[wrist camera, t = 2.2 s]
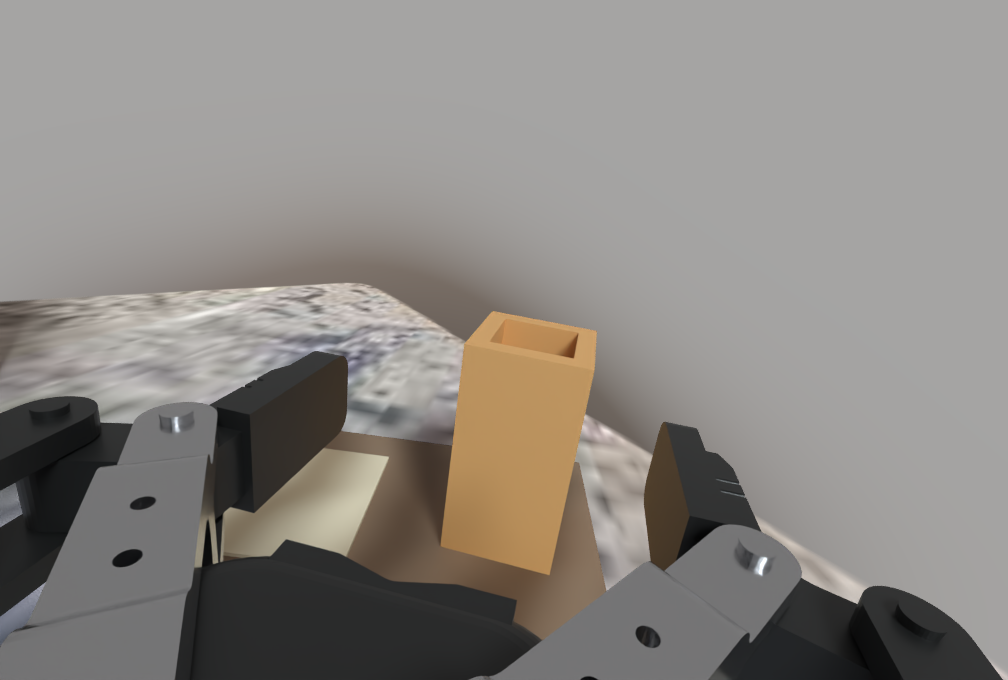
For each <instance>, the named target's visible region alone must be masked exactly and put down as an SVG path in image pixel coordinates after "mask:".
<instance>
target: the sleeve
mask: <svg viewBox="0 0 1008 680" xmlns="http://www.w3.org/2000/svg"><path fill="white" fill-rule="evenodd" d="M596 335H597V331H594V330H589V329H584V328H578V327H573V326H568V325H562V324H557V323H552V322H547V321H542V320H536V319H531V318H526V317H521V316H516V315H511V314H505V313H499V312H495V311H492V312H491V313H490V315H489V316H488V317H487V318H486V319H485V320H484V322H483V323H482V324H481V325H480V326H479V328H478V329H477V330H476V331H475V332H474V333H473V335H472V336H471V337H470V338H469V339H468V340H467V342H466V343H465V344H464V352H463V360H462V369H461V377H460V385H459V394H458V402H457V411H456V419H455V427H454V436H453V444H452V452H451V461H450V469H449V478H448V486H447V494H446V503H445V511H444V519H443V528H442V536H441V545H440V546H441V547H444V548H448V549H452V550H456V551H459V552H463V553H467V554H471V555H475V556H478V557H482V558H486V559H490V560H494V561H497V562H501V563H505V564H509V565H513V566H516V567H520V568H524V569H528V570H531V571H535V572H539V573H543V574H547V575H550V570H551V566H552V561H553V557H554V552H555V548H556V543H557V539H558V534H559V529H560V525H561V520H562V516H563V511H564V507H565V502H566V498H567V493H568V488H569V484H570V479H571V475H572V470H573V466H574V461H575V457H576V452H577V447H578V443H579V438H580V434H581V429H582V425H583V420H584V416H585V411H586V406H587V402H588V397H589V393H590V388H591V384H592V379H593V375H594V369H595V352H596Z"/></svg>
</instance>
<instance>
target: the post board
mask: <svg viewBox="0 0 1008 680" xmlns="http://www.w3.org/2000/svg"><path fill="white" fill-rule="evenodd" d="M451 452H452V446H449V445H442V444H434V443H426V442H419V441H411V440H404V439H396V438H389V437H381V436H374V435H366V434H359V433H351V432H343V431H340V433H339V434H338V435H337V436H336V437H335V438H334V439H333V440H332V441H331V442H330V443H329V444H328V445H327V446H326V447H324V448H323V449H322V450H321V451H320V452H319V453H318V454H317V455H316V456H315V457H314V458H313V459H312V460H311V461H310V462H308V463H307V464H306V465H305V466H304V467H303V468H302V469H301V470H300V471H299V472H298V473H297V474H296V475H295V476H293V477H292V478H291V479H290V480H289V481H288V482H287V483H286V484H285V485H284V486H283V487H282V488H281V489H280V490H279V491H277V492H276V493H275V494H274V495H273V496H272V497H271V498H270V499H269V500H268V501H267V502H266V503H265V504H264V505H263V506H261V507H260V508H259V509H258V510H257V511H256V512H255V513H251V512H247V511H243V510H239V509H235V508H231V507H230V508H229V509H228V510H226V511H225V512H224V518H225V534H224V552H223V561H228V560H232V559H238V558H245V557H257V556H271V555H272V554H273V553H274V552H275V551H276V550H277V549H278V547H279V546H280V545H281V544H282V543H283V542H284V541H285V540H286V539H288V540H291V541H295V542H299V543H303V544H307V545H310V546H314V547H318V548H322V549H326V550H329V551H333V552H337V553H340V554H342V555H344V556H346V557H348V558H349V559H351V560H353V561H355V562H357V563H359V564H360V565H362V566H364V567H366V568H368V569H369V570H371V571H373V572H375V573H377V574H379V575H380V576H382V577H384V578H386V579H388V580H392V581H399V582H420V583H441V584H458V585H462V586H466V587H470V588H473V589H477V590H481V591H485V592H489V593H492V594H496V595H500V596H504V597H507V598H511V599H515V600H517V604H516V609H515V615H514V621H515V622H516V623H518V624H520V625H522V626H523V627H525V628H526V629H528V630H529V631H531V632H532V633H534V634H535V635H537V636H538V637H539V638H540V639H541V640H544V639H545V638H546V637H548V636H549V635H550V634H551V633H553V632H554V631H555V630H557V629H558V628H559V627H561V626H562V625H563V624H565V623H566V622H567V621H568V620H570V619H571V618H572V617H574V616H575V615H576V614H578V613H579V612H580V611H582V610H583V609H584V608H585V607H587V606H588V605H589V604H591V603H592V602H593V601H595V600H596V599H597V598H599V597H600V596H601V595H602V594H604V593H605V592H606V587H605V583H604V578H603V573H602V569H601V564H600V559H599V554H598V550H597V545H596V540H595V536H594V531H593V526H592V522H591V517H590V512H589V507H588V503H587V498H586V493H585V489H584V484H583V479H582V475H581V470H580V465H579V463H577V462H574V466H573V470H572V475H571V479H570V484H569V488H568V493H567V498H566V502H565V507H564V511H563V516H562V520H561V525H560V529H559V534H558V539H557V543H556V548H555V552H554V557H553V561H552V566H551V570H550V575H547V574H543V573H539V572H535V571H531V570H528V569H524V568H520V567H516V566H513V565H509V564H505V563H501V562H497V561H494V560H490V559H486V558H482V557H478V556H475V555H471V554H467V553H463V552H459V551H456V550H452V549H448V548H444V547H441V546H440V545H441V536H442V528H443V519H444V511H445V503H446V494H447V486H448V478H449V469H450V461H451Z"/></svg>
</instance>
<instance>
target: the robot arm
mask: <svg viewBox="0 0 1008 680" xmlns="http://www.w3.org/2000/svg"><path fill="white" fill-rule="evenodd" d="M347 384H348V363H347V360H346V358H345V357H344V356H339V355H334V354H329V353H324V352H319V351H314V352H312V353H310V354H309V355H307V356H305V357H303V358H302V359H300V360H298V361H296V362H295V363H293V364H291V365H289V366H285V367H282V368H278V369H274V370H271V371H270V372H268V373H266V374H264V375H262V376H261V377H259V378H257V380H253V381H252V382H250V383H248V384H246V385H245V387H241V388H239V389H237V390H236V391H234V392H232V393H230V394H228V395H227V396H225V397H223V398H221V399H219V400H218V401H216V402H214V403H212V404H210V405H207V404H203V403H195V402H181V403H173V404H167V405H163V406H159V407H156V408H153V409H150V410H148V411H146V412H144V413H142V414H141V415H140V416H138V417H137V418H136V419H135V421H134V423H133V424H123V423H100V417H99V411H98V405H97V403H96V402H95V401H94V400H91V399H89V398H85V397H75V396H65V397H54V398H47V399H41V400H37V401H33V402H29V403H26V404H23V405H20V406H18V407H15V408H13V409H10V410H8V411H5V412H3V413H0V490H2V489H4V488H6V487H8V486H10V485H12V484H13V483H16V487H17V491H18V496H19V500H20V504H21V509H22V513H23V514H22V515H20V516H18V517H17V518H15V519H13V520H12V521H10V522H8V523H7V524H5V525H3V526H2V527H0V616H2V615H3V614H4V613H6V612H7V611H8V610H9V609H11V608H12V607H13V606H15V605H16V604H17V603H19V602H20V601H21V600H23V599H24V598H25V597H27V596H28V595H29V594H31V593H32V592H33V591H34V590H36V589H37V588H38V587H40V586H41V585H42V584H44V583H45V582H46V581H47V582H46V584H45V586H44V588H43V590H42V593H41V595H40V597H39V599H38V602H37V604H36V606H35V608H34V611H33V613H32V615H31V617H30V619H29V621H28V622H27V624H26V625H25V626H24V627H22V628H19V629H16V630H14V631H13V632H11V633H10V634H9V636H8V637H7V638H6V639H5V641H4V642H3V644H2V645H1V646H0V680H1003V679H1002V678H1001V677H1000V675H999V674H998V673H997V671H996V670H995V669H994V667H993V666H992V665H991V663H990V662H989V661H988V659H987V658H986V657H985V655H984V654H983V652H982V651H981V650H980V648H979V647H978V646H977V644H976V643H975V642H974V640H973V639H972V638H971V637H970V636H969V634H968V633H967V632H966V631H965V630H964V629H963V628H962V627H961V626H960V625H959V624H958V623H957V622H955V621H954V620H953V619H952V618H951V617H949V616H948V615H946V614H945V613H944V612H942V611H941V610H939V609H938V608H936V607H935V606H933V605H931V604H930V603H928V602H926V601H924V600H923V599H920V598H918V597H916V596H914V595H912V594H910V593H907V592H905V591H902V590H899V589H895V588H890V587H886V586H872V587H869V588H867V589H866V590H864V592H863V594H862V596H861V598H860V600H859V602H858V604H856V603H853V602H851V601H849V600H847V599H844V598H842V597H840V596H837V595H835V594H833V593H831V592H828V591H826V590H824V589H821V588H819V587H817V586H815V585H813V584H811V583H809V582H807V581H806V580H804V579H802V578H801V575H802V571H801V567H800V565H799V563H798V561H797V559H796V558H795V557H794V555H793V554H792V553H791V552H790V551H789V550H788V549H787V548H786V547H785V546H783V545H782V544H781V543H779V542H778V541H776V540H775V539H773V538H772V537H770V536H768V535H766V534H764V533H762V532H761V530H760V528H759V525H758V523H757V521H756V519H755V516H754V514H753V512H752V510H751V508H750V505H749V503H748V501H747V499H746V498H744V495H745V494H744V492H743V490H742V488H741V486H740V485H739V481H738V479H737V476H736V475H735V472H734V470H733V468H732V467H731V466H730V465H729V464H728V463H727V462H726V461H725V460H724V459H723V458H722V457H721V456H719V455H718V454H716V453H712V452H707V451H705V448H704V446H703V443H702V440H701V437H700V435H699V432H698V430H697V429H696V428H692V427H687V426H682V425H677V424H673V423H668V422H663V424H662V425H661V428H660V431H659V434H658V438H657V442H656V446H655V449H654V453H653V457H652V461H651V465H650V469H649V472H648V476H647V480H646V486H645V493H644V509H645V517H646V525H647V533H648V541H649V550H650V558H651V561H649V562H646V563H643V564H642V565H640V566H639V567H638V568H636V569H635V570H634V571H633V572H631V573H630V574H629V575H627V576H626V577H625V578H623V579H622V580H621V581H619V582H618V583H617V584H616V585H614V586H613V587H612V588H610V589H609V590H608V591H606V592H605V593H604V594H602V595H601V596H600V597H599V598H597V599H596V600H595V601H593V602H592V603H591V604H589V605H588V606H587V607H585V608H584V609H583V610H582V611H580V612H579V613H578V614H576V615H575V616H574V617H572V618H571V619H570V620H568V621H567V622H566V623H565V624H563V625H562V626H561V627H559V628H558V629H557V630H555V631H554V632H553V633H551V634H550V635H549V636H548V637H546V638H545V639H544V640H541V639H540V638H539V637H538V636H537V635H535V634H534V633H532V632H531V631H529V630H528V629H526V628H525V627H523V626H522V625H520V624H518V623H516V622H515V621H514V615H515V609H516V604H517V600H515V599H511V598H507V597H504V596H500V595H496V594H492V593H489V592H485V591H481V590H477V589H473V588H470V587H466V586H462V585H458V584H441V583H420V582H399V581H392V580H388V579H386V578H384V577H382V576H380V575H379V574H377V573H375V572H373V571H371V570H369V569H368V568H366V567H364V566H362V565H360V564H359V563H357V562H355V561H353V560H351V559H349V558H348V557H346V556H344V555H342V554H340V553H337V552H333V551H329V550H326V549H322V548H318V547H314V546H310V545H307V544H303V543H299V542H295V541H291V540H288V539H286V540H285V541H284V542H283V543H282V544H281V545H280V546H279V547H278V549H277V550H276V551H275V552H274V553H273V554H272V555H271V556H257V557H245V558H238V559H232V560H228V561H223V552H224V534H225V518H224V512H225V511H226V510H228V509H229V508H230V507H231V508H235V509H239V510H243V511H247V512H251V513H255V512H256V511H257V510H258V509H259V508H260V507H261V506H263V505H264V504H265V503H266V502H267V501H268V500H269V499H270V498H271V497H272V496H273V495H274V494H275V493H276V492H277V491H279V490H280V489H281V488H282V487H283V486H284V485H285V484H286V483H287V482H288V481H289V480H290V479H291V478H292V477H293V476H295V475H296V474H297V473H298V472H299V471H300V470H301V469H302V468H303V467H304V466H305V465H306V464H307V463H308V462H310V461H311V460H312V459H313V458H314V457H315V456H316V455H317V454H318V453H319V452H320V451H321V450H322V449H323V448H324V447H326V446H327V445H328V444H329V443H330V442H331V441H332V440H333V439H334V438H335V437H336V436H337V435H338V434H339V433H340V431H341V429H342V427H343V425H344V422H345V419H346V414H347Z"/></svg>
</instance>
